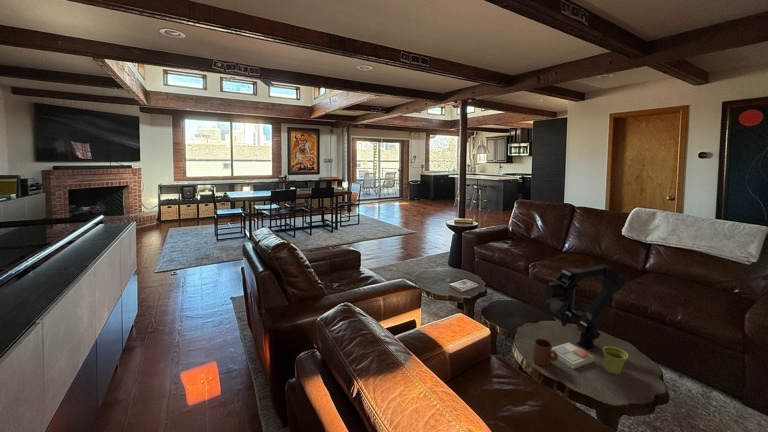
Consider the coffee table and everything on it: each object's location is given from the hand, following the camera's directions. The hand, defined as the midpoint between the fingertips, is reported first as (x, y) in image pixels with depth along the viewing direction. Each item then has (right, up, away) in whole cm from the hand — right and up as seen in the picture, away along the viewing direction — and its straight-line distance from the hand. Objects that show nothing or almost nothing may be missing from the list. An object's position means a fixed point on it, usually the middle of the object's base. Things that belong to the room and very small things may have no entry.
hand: (563, 326), depth 173 cm
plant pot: (+15, -16, -13) cm, 25 cm away
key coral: (+5, -12, -6) cm, 14 cm away
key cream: (+2, -12, -1) cm, 12 cm away
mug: (-13, -15, -10) cm, 22 cm away
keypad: (+1, -13, -4) cm, 14 cm away
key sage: (0, -13, -8) cm, 16 cm away
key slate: (-3, -12, -3) cm, 13 cm away
